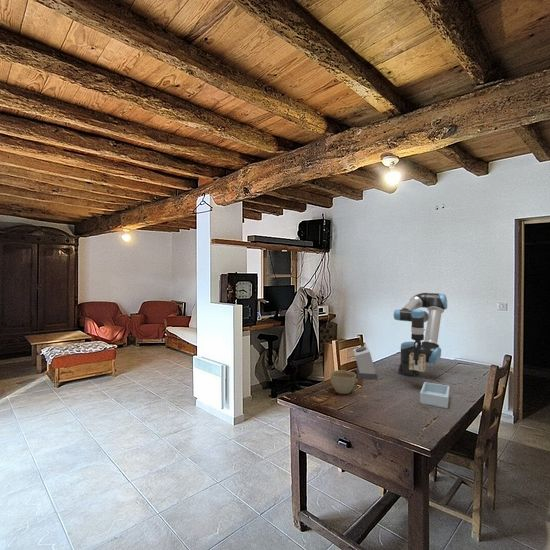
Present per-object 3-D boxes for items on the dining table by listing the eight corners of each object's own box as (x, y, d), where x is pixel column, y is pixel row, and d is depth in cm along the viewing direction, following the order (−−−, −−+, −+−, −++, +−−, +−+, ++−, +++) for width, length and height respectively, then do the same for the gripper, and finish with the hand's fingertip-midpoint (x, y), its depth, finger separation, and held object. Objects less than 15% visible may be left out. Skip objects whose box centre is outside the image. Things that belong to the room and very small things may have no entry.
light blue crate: (419, 403, 190) (420, 392, 190) (424, 391, 209) (424, 381, 209) (447, 408, 183) (447, 397, 183) (449, 395, 202) (449, 385, 202)
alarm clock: (377, 379, 231) (378, 350, 231) (354, 378, 234) (355, 349, 234) (374, 371, 252) (374, 344, 251) (353, 370, 254) (353, 343, 254)
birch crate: (408, 369, 216) (409, 355, 215) (410, 365, 224) (411, 352, 223) (424, 371, 211) (424, 357, 211) (425, 367, 219) (425, 354, 219)
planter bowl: (337, 385, 219) (337, 368, 219) (360, 390, 209) (360, 373, 209) (324, 391, 207) (325, 374, 207) (348, 398, 197) (348, 379, 196)
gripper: (421, 337, 206) (421, 373, 206) (425, 331, 224) (425, 364, 225) (409, 335, 209) (408, 371, 210) (413, 330, 228) (413, 362, 229)
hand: (417, 367), depth 217 cm, fingers closed on birch crate, 9 cm apart
